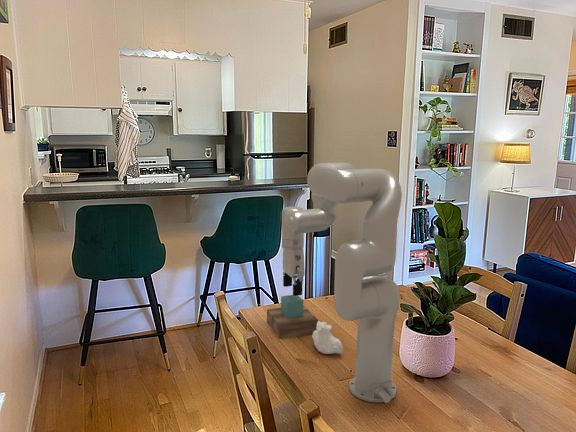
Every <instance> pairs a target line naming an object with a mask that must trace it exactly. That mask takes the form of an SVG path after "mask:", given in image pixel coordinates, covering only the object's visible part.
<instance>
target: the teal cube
mask: <svg viewBox="0 0 576 432" xmlns="http://www.w3.org/2000/svg"><path fill="white" fill-rule="evenodd" d="M280 301H281V302H280V308H281V313H282V314H283V315H284V316H285V317H286V318H287V319H289V318H296V317H303V305H304V299H303V298H302V297H300V295H298V296H294V295H293V294H289V295H281V296H280Z"/></svg>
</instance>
